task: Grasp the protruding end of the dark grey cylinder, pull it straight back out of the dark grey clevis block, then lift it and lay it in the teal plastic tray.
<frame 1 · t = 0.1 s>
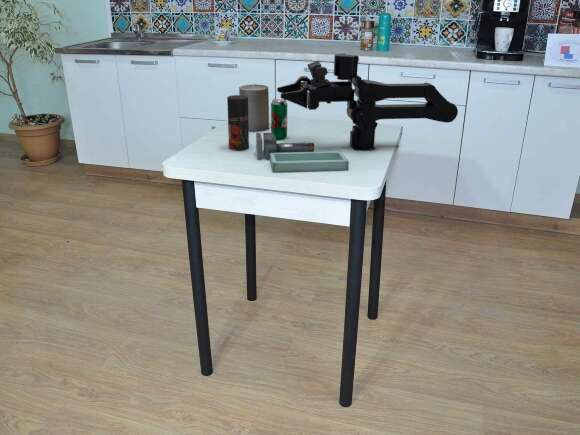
hand: (278, 92, 156), 17 cm above the table, tool horizontal, fingers open, 9 cm apart
clevis: (269, 155, 157), on the table
deodorant: (238, 148, 163), on the table
dark grey cylinder: (289, 154, 157), on the table
soda can: (279, 138, 174), on the table
tray: (308, 165, 148), on the table
pillar candle: (254, 128, 185), on the table
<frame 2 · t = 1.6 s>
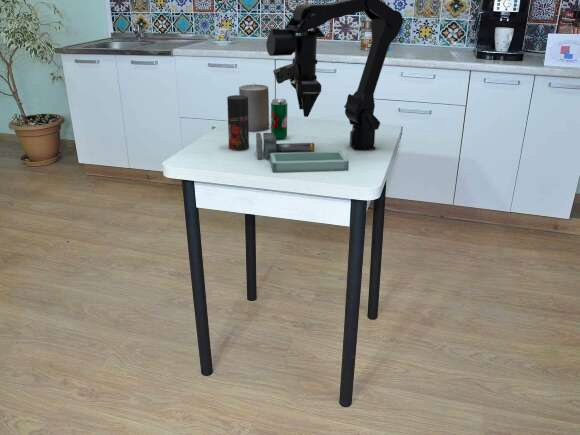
hand: (303, 112, 153), 12 cm above the table, tool pointing down, fingers open, 9 cm apart
dark grey cylinder: (289, 154, 157), on the table, tilted 10°
everything else where it was.
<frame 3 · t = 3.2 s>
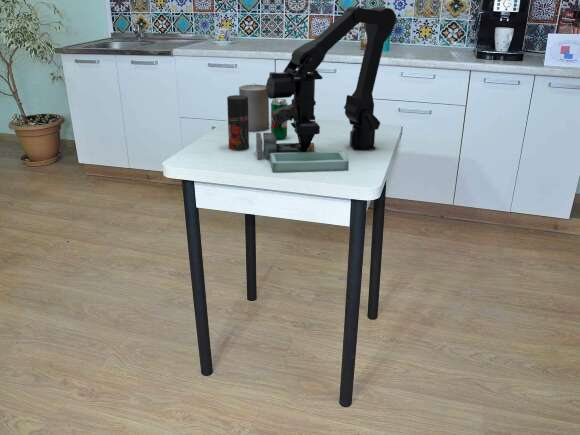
hand: (302, 151, 157), 1 cm above the table, tool pointing down, fingers closed on dark grey cylinder, 3 cm apart
dark grey cylinder: (289, 154, 157), on the table, touching gripper
everything else where it was.
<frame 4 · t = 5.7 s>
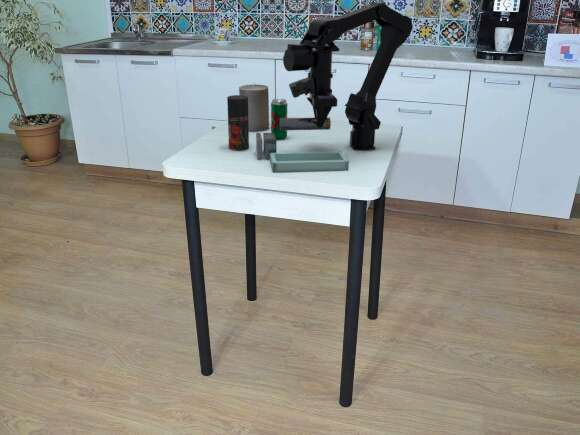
hand: (318, 125, 155), 8 cm above the table, tool pointing down, fingers closed on dark grey cylinder, 3 cm apart
dark grey cylinder: (304, 129, 155), point 7 cm above the table, touching gripper
everything else where it was.
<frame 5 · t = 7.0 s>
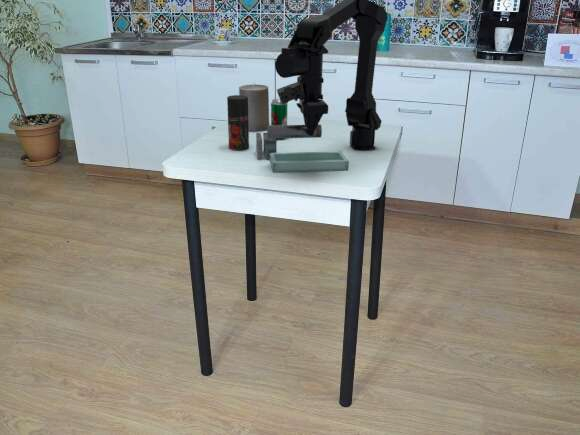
hand: (309, 133, 145), 9 cm above the table, tool pointing down, fingers closed on dark grey cylinder, 3 cm apart
dark grey cylinder: (294, 137, 145), point 8 cm above the table, touching gripper
everything else where it was.
when the fingers open (3 cm above the table, at t = 8.2 s): dark grey cylinder stays where it is, resting on tray.
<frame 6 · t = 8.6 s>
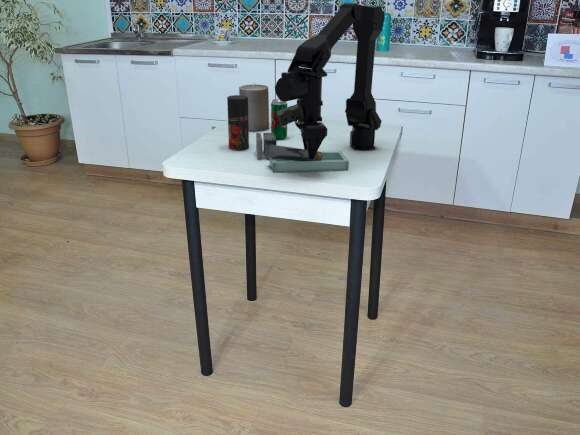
hand: (308, 154, 147), 3 cm above the table, tool pointing down, fingers open, 8 cm apart
dark grey cylinder: (293, 160, 147), point 2 cm above the table, tilted 10°, touching tray
everything else where it was.
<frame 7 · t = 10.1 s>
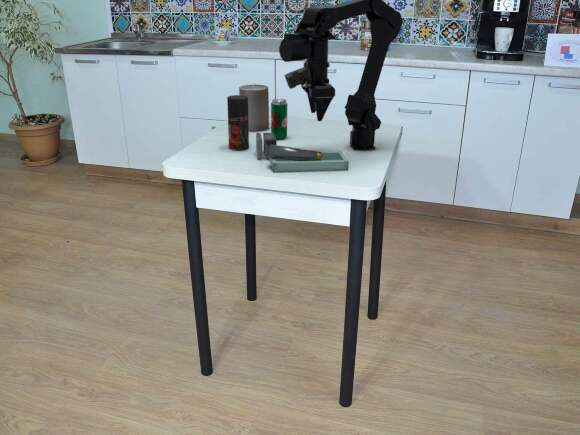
hand: (316, 116, 151), 12 cm above the table, tool pointing down, fingers open, 9 cm apart
nothing on the table moved.
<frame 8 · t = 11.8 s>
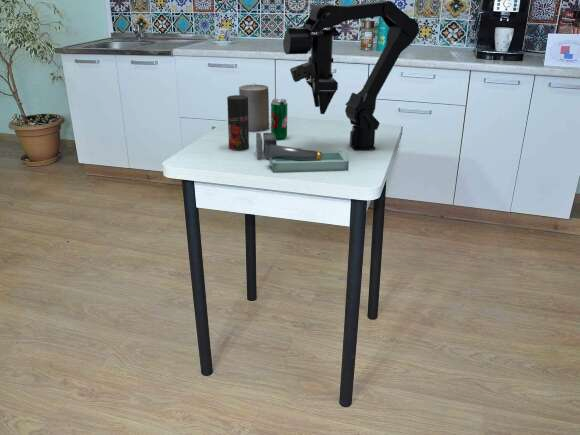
hand: (319, 110, 156), 12 cm above the table, tool pointing down, fingers open, 9 cm apart
nothing on the table moved.
at the end: dark grey cylinder inside the target area on the tray (4.1 cm from its centre), point 1.7 cm above the tray's base; dark grey cylinder touching tray; the gripper is holding nothing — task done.
